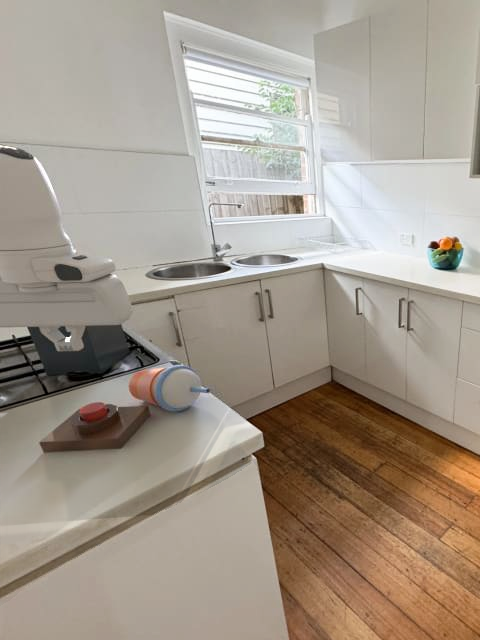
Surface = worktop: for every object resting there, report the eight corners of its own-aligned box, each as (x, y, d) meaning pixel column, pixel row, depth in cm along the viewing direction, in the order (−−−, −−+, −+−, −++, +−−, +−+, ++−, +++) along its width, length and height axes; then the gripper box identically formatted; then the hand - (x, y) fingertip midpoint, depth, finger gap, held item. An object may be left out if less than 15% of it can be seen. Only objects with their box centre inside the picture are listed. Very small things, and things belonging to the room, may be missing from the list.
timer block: (43, 452, 63) (34, 433, 62) (83, 418, 72) (76, 400, 71) (121, 448, 65) (114, 429, 63) (151, 415, 74) (145, 397, 72)
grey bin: (130, 352, 99) (114, 301, 93) (102, 373, 88) (82, 317, 83) (81, 353, 97) (62, 302, 92) (46, 375, 87) (23, 318, 81)
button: (77, 422, 65) (73, 413, 65) (90, 410, 69) (87, 402, 68) (99, 421, 66) (96, 412, 65) (112, 409, 69) (109, 401, 68)
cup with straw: (128, 357, 75) (194, 361, 69) (170, 368, 84) (232, 372, 77) (113, 403, 73) (180, 412, 67) (158, 409, 81) (221, 417, 75)
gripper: (-62, 270, 52) (-19, 360, 58) (99, 269, 55) (126, 356, 60) (-20, 261, 58) (16, 343, 64) (124, 260, 60) (147, 340, 66)
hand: (71, 349), depth 62 cm, fingers closed
